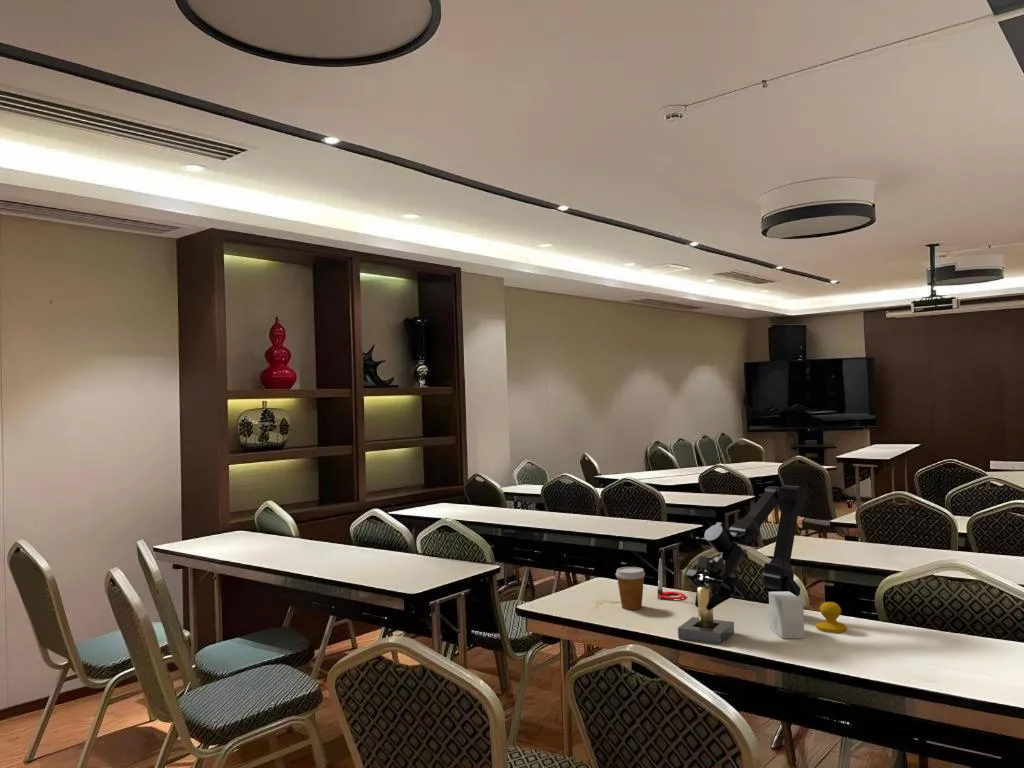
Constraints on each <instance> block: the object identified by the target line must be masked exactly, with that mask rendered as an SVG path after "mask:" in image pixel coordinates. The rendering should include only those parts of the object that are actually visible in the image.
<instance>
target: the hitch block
mask: <svg viewBox="0 0 1024 768" xmlns="http://www.w3.org/2000/svg"><path fill="white" fill-rule="evenodd" d="M713 623H714V629H708V628H701V627H699V617H698V616H697V617H696V616H692V617H690V618H689V619H688V620H687V621H685V622H684V623H682V624H681V625H680V626H678V627H677V636H678V637H677V638H679V640H683V639H685V640H684V641H690V640H692V642H698V643H707V644H712V643H713V644H714V645H719V644H720V646H721V645H723V644H724V643H725V642H726V641H727V640H728V639H729V638H731V637H732V636H733V633H734V634H735V621H728V620H720V619H713ZM699 641H700V642H699ZM724 641H725V642H724ZM723 642H724V643H723ZM722 643H723V644H722Z"/></svg>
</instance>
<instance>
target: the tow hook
mask: <svg viewBox="0 0 1024 768" xmlns="http://www.w3.org/2000/svg"><path fill="white" fill-rule="evenodd" d="M658 562H659V563H658V581H657V599H658V600H659V599H660V600H662V599H664V600H667V599H669V600H668V601H675V600H674V599H682V598H685V597H686V598H687V595H686V594H685V593H682V592H678V591H664V590H663V565H662V563H663V562H662V558H659V560H658ZM669 595H670V596H669ZM677 595H681V596H677ZM686 598H685V599H686Z"/></svg>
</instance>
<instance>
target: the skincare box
mask: <svg viewBox="0 0 1024 768" xmlns="http://www.w3.org/2000/svg"><path fill="white" fill-rule="evenodd" d="M768 604H769V605H768V608H769V629H770V630H771V631H772V632H774V633H775V634H776V635H777V636H778V637H780V638H781V639H785V640H786V639H805V616H804V615H805V614H804V613H805V612H804V611H805V610H804V600H803V599H802V598H801V597H799V596H796V595H794V594H792V593H791V592H769V593H768Z"/></svg>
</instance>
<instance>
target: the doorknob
mask: <svg viewBox="0 0 1024 768" xmlns="http://www.w3.org/2000/svg"><path fill="white" fill-rule="evenodd" d="M819 611H820V613H821V615H822V616H823V618H824V619H825V620H822V621H818V622H816V623H815V628H816V630H818V631H819V632H823V633H829V634H842V633H846V632H847V630H848V627H847V625H846V624H845V623H842V622H841V621H840V622H839V621H837V619H838V618H839V617H840V615H841V614H842V608H841V607H840V605H839V604H838V603H836V602H834V601H825V602H823V603H821V604H820V607H819Z"/></svg>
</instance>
